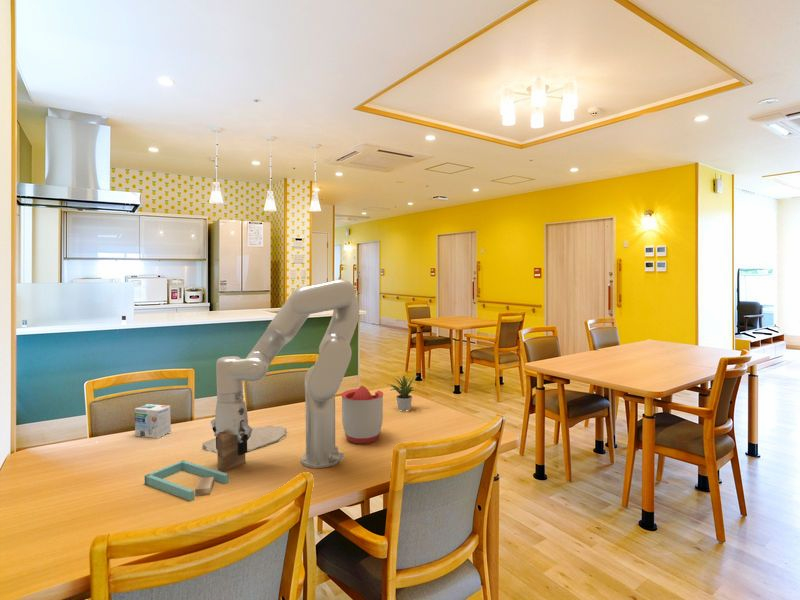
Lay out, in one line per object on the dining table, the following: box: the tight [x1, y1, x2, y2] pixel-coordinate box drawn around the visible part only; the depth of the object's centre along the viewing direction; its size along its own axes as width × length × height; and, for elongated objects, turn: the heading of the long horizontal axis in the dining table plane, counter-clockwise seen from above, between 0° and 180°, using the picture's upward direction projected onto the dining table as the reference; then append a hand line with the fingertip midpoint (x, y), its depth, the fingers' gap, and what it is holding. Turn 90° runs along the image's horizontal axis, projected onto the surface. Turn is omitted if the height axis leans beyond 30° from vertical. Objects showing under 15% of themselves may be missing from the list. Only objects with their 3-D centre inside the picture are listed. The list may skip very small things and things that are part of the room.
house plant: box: [387, 374, 419, 411], centre depth 201 cm, size 14×14×16 cm
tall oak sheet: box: [216, 431, 246, 473], centre depth 138 cm, size 3×8×12 cm, turn 150°
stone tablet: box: [201, 425, 287, 454], centre depth 161 cm, size 16×30×2 cm, turn 136°
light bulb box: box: [134, 403, 172, 439], centre depth 168 cm, size 11×7×11 cm, turn 76°
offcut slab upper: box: [194, 477, 215, 497], centre depth 123 cm, size 4×7×2 cm, turn 14°
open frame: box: [144, 459, 229, 502], centre depth 127 cm, size 20×12×4 cm, turn 61°
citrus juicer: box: [340, 385, 384, 445], centre depth 165 cm, size 16×17×20 cm
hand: (231, 451), depth 138 cm, fingers open, 9 cm apart
